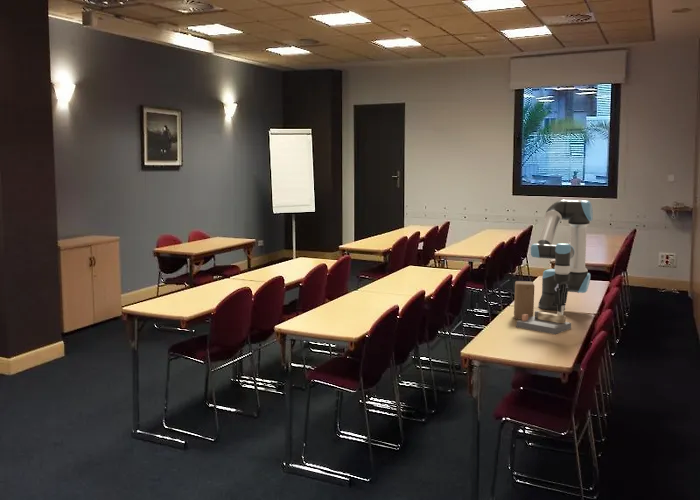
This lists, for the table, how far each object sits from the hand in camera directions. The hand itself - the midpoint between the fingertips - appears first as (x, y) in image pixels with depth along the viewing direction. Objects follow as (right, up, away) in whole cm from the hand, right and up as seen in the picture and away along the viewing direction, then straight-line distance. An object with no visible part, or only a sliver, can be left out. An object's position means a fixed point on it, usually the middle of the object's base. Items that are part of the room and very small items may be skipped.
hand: (560, 317), depth 347 cm
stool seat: (-9, -5, -1) cm, 11 cm away
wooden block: (-14, -3, +21) cm, 25 cm away
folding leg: (-6, -2, +1) cm, 6 cm away
